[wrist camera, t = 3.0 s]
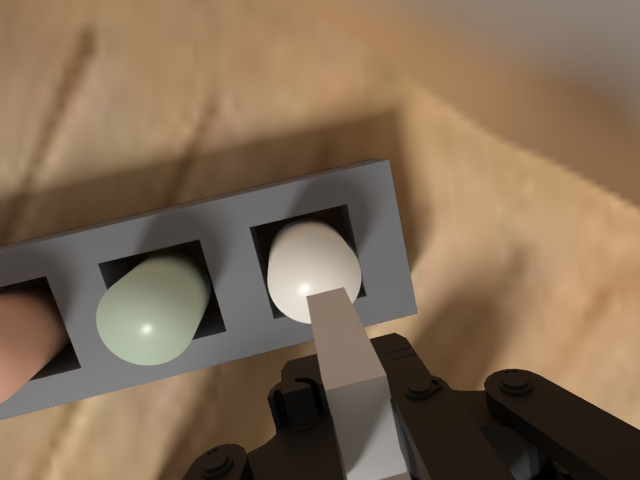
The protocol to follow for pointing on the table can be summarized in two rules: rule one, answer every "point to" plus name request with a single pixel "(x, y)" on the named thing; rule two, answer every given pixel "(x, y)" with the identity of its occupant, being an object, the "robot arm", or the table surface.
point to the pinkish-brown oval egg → (27, 335)
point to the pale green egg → (154, 309)
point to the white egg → (309, 266)
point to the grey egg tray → (225, 271)
